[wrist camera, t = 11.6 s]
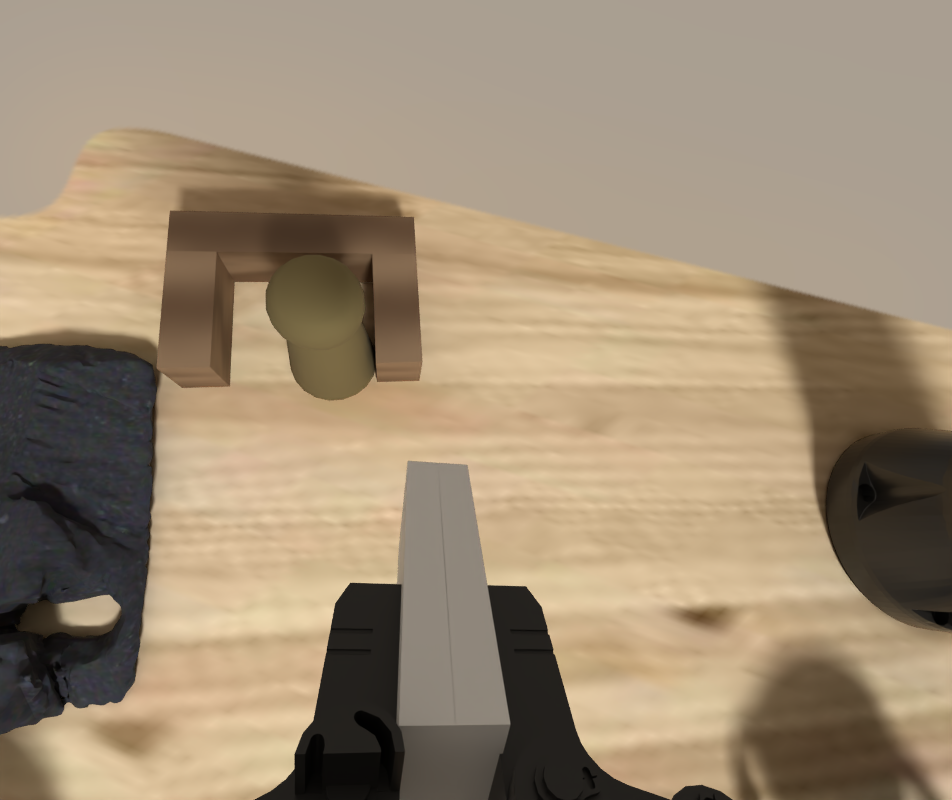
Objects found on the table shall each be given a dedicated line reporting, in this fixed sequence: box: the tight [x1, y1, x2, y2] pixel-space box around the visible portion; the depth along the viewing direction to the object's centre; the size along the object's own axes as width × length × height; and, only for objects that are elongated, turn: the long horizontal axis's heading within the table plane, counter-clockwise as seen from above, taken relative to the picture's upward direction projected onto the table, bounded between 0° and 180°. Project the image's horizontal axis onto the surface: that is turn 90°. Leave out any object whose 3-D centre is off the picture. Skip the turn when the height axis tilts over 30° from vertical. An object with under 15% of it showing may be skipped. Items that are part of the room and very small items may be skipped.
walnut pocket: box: [156, 211, 422, 388], centre depth 35 cm, size 11×16×4 cm
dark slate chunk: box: [0, 344, 157, 734], centre depth 29 cm, size 15×22×5 cm
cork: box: [266, 255, 376, 400], centre depth 31 cm, size 6×6×11 cm
